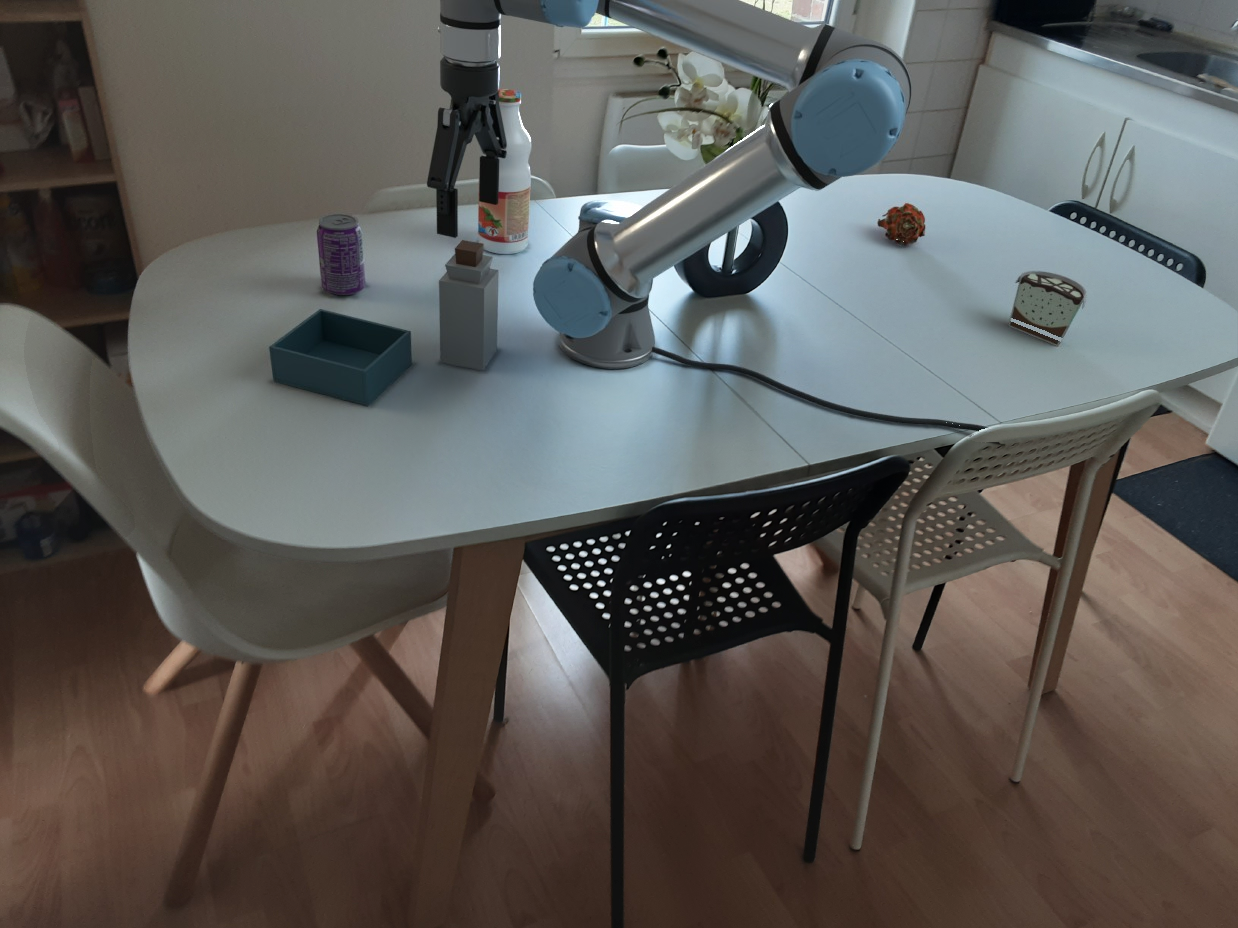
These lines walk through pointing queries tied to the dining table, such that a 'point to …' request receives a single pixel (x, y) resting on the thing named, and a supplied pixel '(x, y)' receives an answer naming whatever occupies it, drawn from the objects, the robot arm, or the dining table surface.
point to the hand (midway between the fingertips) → (468, 218)
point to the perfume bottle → (468, 308)
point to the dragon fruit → (903, 224)
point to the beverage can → (341, 254)
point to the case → (341, 356)
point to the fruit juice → (509, 186)
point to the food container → (1046, 303)
